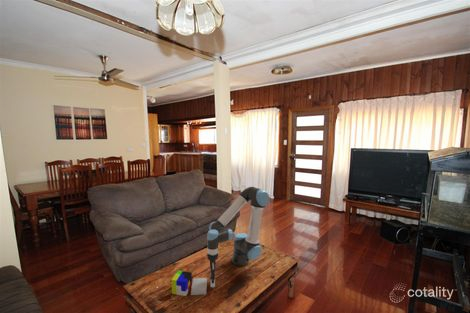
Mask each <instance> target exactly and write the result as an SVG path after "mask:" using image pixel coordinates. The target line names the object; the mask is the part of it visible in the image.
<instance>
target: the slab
mask: <svg viewBox="0 0 470 313" xmlns="http://www.w3.org/2000/svg"><path fill="white" fill-rule="evenodd" d="M207 286H208V277H195V278H193V277H192V286H191V288H190V295H191V296H194V295H195V296H198V295H207Z"/></svg>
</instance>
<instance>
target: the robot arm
mask: <svg viewBox="0 0 470 313" xmlns="http://www.w3.org/2000/svg"><path fill="white" fill-rule="evenodd" d="M249 202H250V206H251V211H250V217H249V218H250V219H249V224H248V232H247V233H245V232H239V233H236V234H234V231H233V230H232V229H231V228H225V227H226V226H227V224H228V223H229V222H230V221H231V220H232V219H233V218H234V217H235V216H236V214H237V213H238V212H239V211H240V210H241V209H242V208H243V207H244V206H245V204H248V203H249ZM269 203H270V194H269V193H268V192H267V191H266V190H264V189H262V188H258V187H254V186H249V187H246V188H245V189H243V190H242V191H241V192H240V193H239V194H238V195H237V198H236V199H235V200H234V201H233V202H232V203H231V205H229V207H228V208H226V210H225V211H224V212H223V213H222V215H220V217H219V218H218V219H217V220H216V221H212V222H210V223H209V226H208V229H209V230H208V231H207V234H206V236H207V237H206V239H207V240H206V241H207V244H206V245H207V248H206V249H205V250H206V251H207V253H206V257H207V260H208V261H209V266H210V267H209V268H210V269H209V270H210V271H209V273H210V272H211V278H210V277H209V280H210V279H211V287H215V288H216V262H217V260H218V258H219V244H221V243H225V242H227V241H231V240H232V239H233V253H232V256H231V263H232V264H233V265H235V266H238V267H244V266H247V265H248V264H249V263H250V260H253V261H255V260H257V259H258V258H259V257H260V256H261V254H262V253H263V252H262V251H263V249H262V247H261V246H260V244H261V241H260V239H259V238H260V230H261V223H262V217H263V210H264V209H265V208H266V207H267V205H269Z"/></svg>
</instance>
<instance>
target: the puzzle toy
mask: <svg viewBox="0 0 470 313" xmlns="http://www.w3.org/2000/svg"><path fill="white" fill-rule="evenodd" d="M192 274H193V272H191V271H184V270H178V271H177V272H176V273H175V275H174V276H173V277H172V279H171V294H173V295H179V296H181V297H182V296H183V297H187V295H188V293H189V292H190V291H191V288H192V282H193V275H192Z"/></svg>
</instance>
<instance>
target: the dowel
mask: <svg viewBox="0 0 470 313" xmlns="http://www.w3.org/2000/svg"><path fill="white" fill-rule="evenodd" d="M210 278H211V272H210V271H209V288H211V289H215V288H216V286H215V287H211V279H210Z"/></svg>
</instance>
